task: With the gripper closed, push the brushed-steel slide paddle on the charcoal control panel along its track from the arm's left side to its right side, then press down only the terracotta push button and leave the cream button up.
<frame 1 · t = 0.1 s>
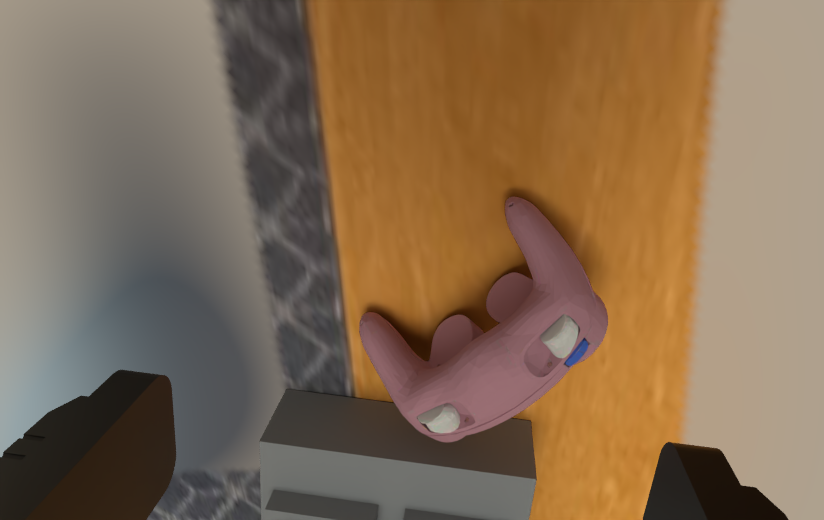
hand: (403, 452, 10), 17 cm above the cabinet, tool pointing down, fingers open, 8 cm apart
video game controller: (477, 297, 28), on the cabinet
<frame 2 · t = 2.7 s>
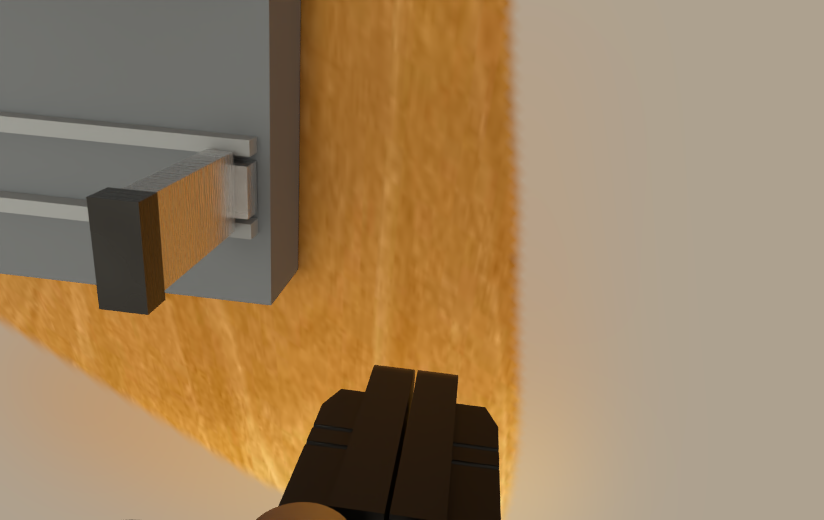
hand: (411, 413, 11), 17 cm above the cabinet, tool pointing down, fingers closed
control panel: (160, 33, 27), on the cabinet
slide paddle: (184, 214, 20), point 8 cm above the cabinet, slide at 0.0 cm
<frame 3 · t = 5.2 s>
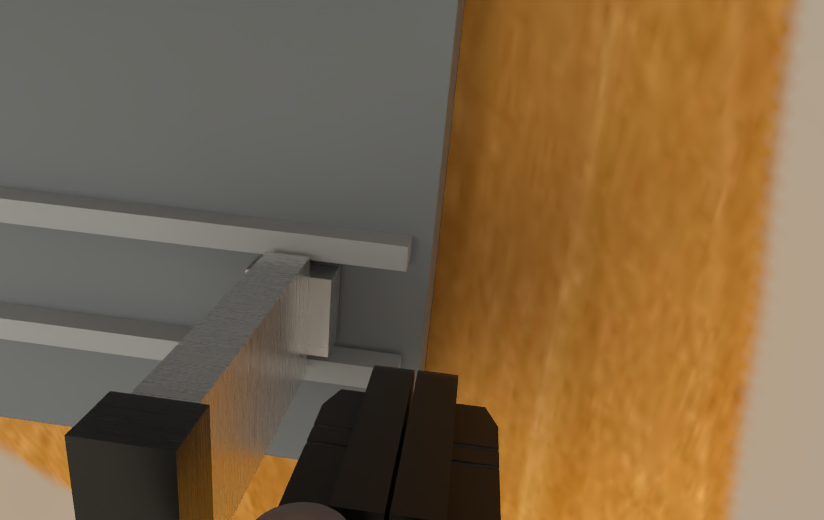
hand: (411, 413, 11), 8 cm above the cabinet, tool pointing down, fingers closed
control panel: (244, 65, 18), on the cabinet
slide paddle: (240, 382, 12), point 8 cm above the cabinet, slide at 1.7 cm, touching gripper
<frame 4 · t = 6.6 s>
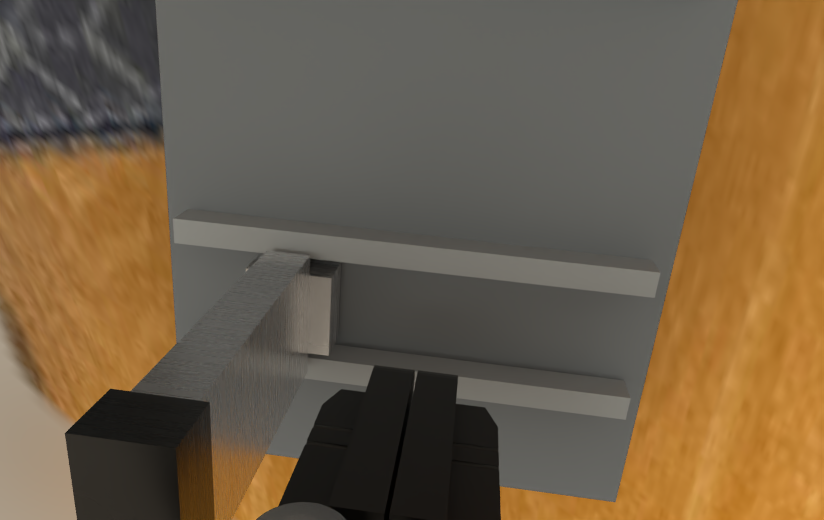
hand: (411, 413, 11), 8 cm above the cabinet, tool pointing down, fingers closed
control panel: (437, 83, 17), on the cabinet
slide paddle: (241, 380, 12), point 8 cm above the cabinet, slide at 7.2 cm, touching gripper
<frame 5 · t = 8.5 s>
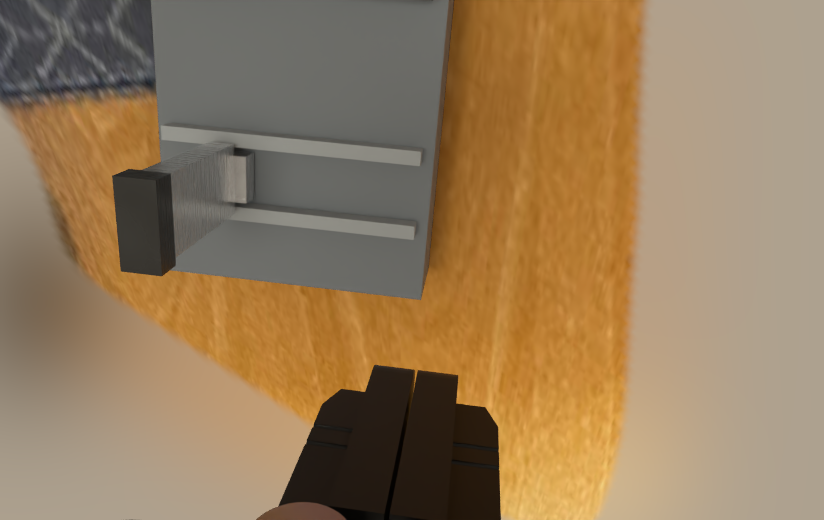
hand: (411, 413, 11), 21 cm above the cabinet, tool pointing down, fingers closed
control panel: (319, 54, 29), on the cabinet
slide paddle: (192, 195, 24), point 8 cm above the cabinet, slide at 7.2 cm
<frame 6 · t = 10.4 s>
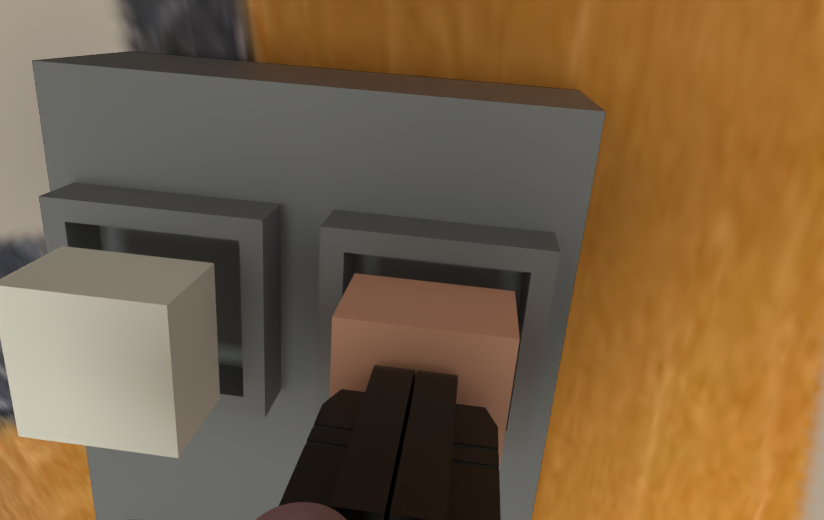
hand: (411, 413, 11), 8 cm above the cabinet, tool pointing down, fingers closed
control panel: (337, 393, 20), on the cabinet
cream button: (118, 348, 12), point 7 cm above the cabinet, slide at 0.0 cm
terracotta button: (422, 378, 12), point 7 cm above the cabinet, slide at 0.3 cm, touching gripper
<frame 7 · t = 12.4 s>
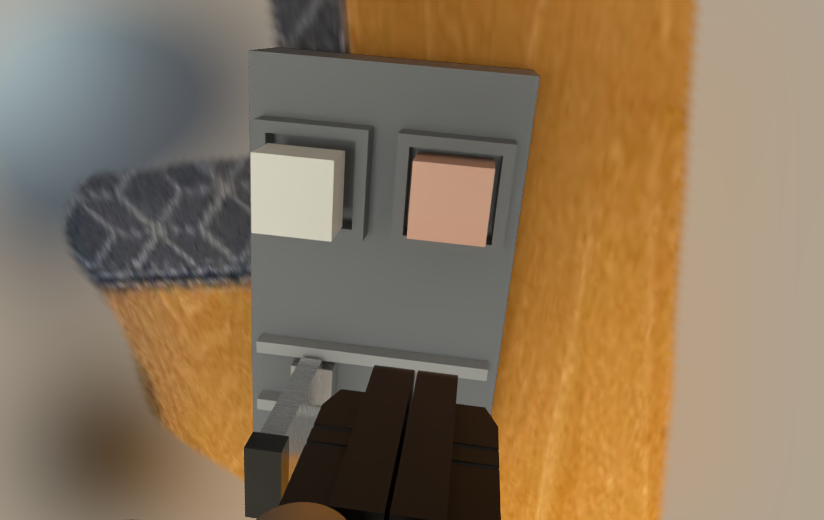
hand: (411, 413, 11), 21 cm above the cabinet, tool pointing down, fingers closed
control panel: (389, 258, 33), on the cabinet
slide paddle: (293, 423, 27), point 8 cm above the cabinet, slide at 7.2 cm
cream button: (298, 191, 25), point 7 cm above the cabinet, slide at 0.0 cm
terracotta button: (450, 198, 26), point 5 cm above the cabinet, slide at 1.4 cm
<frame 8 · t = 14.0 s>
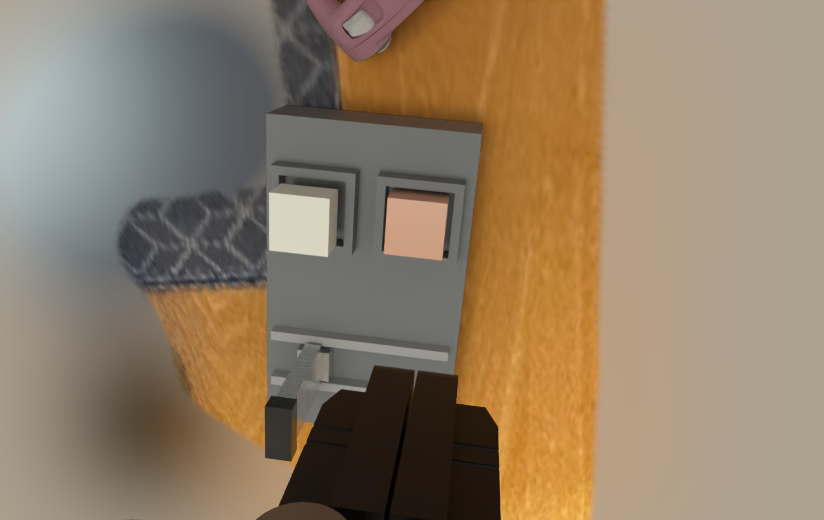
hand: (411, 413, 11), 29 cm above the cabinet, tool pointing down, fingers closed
control panel: (374, 266, 42), on the cabinet
slide paddle: (299, 392, 36), point 8 cm above the cabinet, slide at 7.2 cm
cream button: (303, 219, 34), point 7 cm above the cabinet, slide at 0.0 cm
terracotta button: (417, 224, 35), point 5 cm above the cabinet, slide at 1.4 cm
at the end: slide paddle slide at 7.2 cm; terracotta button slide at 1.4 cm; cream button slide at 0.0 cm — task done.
